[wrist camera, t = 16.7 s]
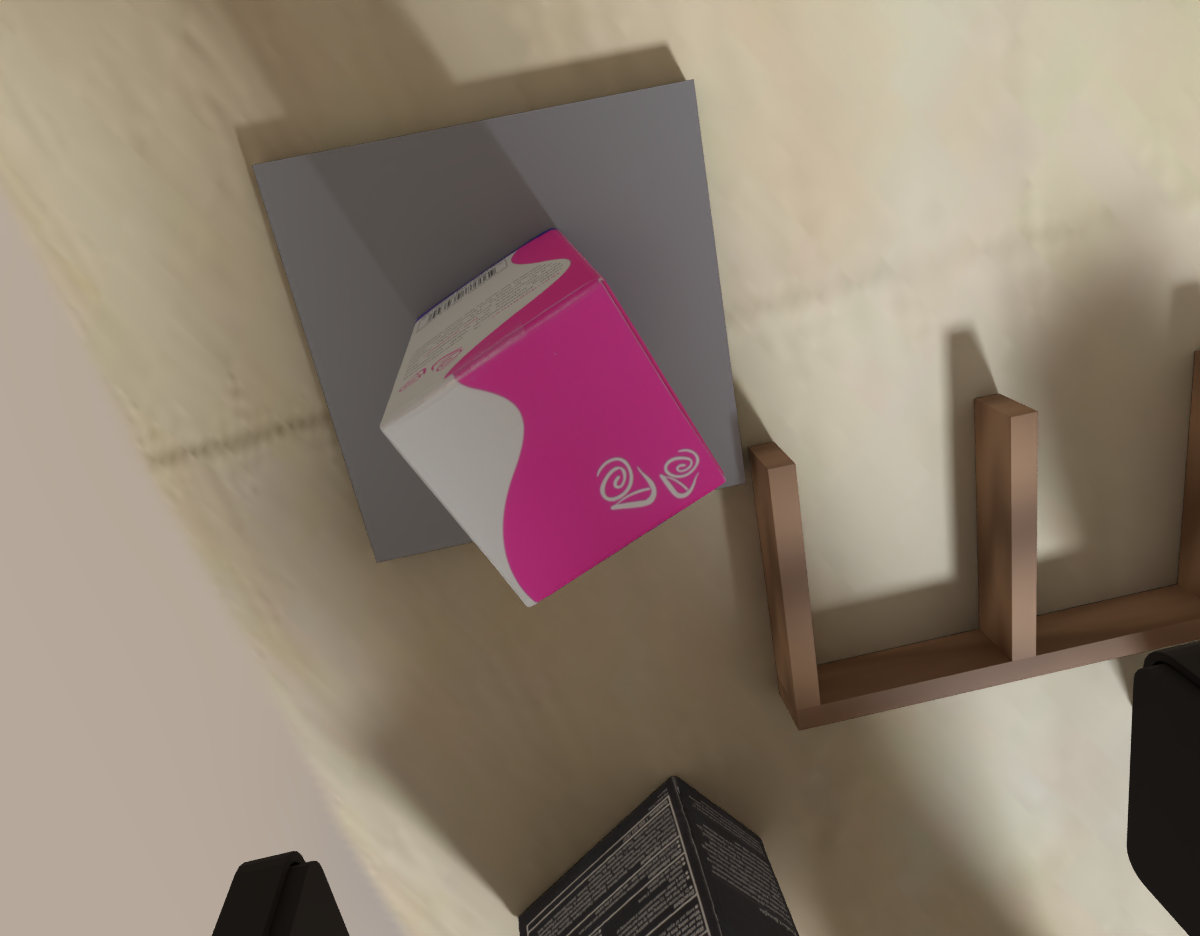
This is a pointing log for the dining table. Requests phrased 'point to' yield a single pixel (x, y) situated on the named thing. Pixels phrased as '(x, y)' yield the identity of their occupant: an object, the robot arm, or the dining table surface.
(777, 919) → the small box
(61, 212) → the dining table surface
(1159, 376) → the dining table surface
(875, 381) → the dining table surface
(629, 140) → the slate board
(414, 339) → the supplement box
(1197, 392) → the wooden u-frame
